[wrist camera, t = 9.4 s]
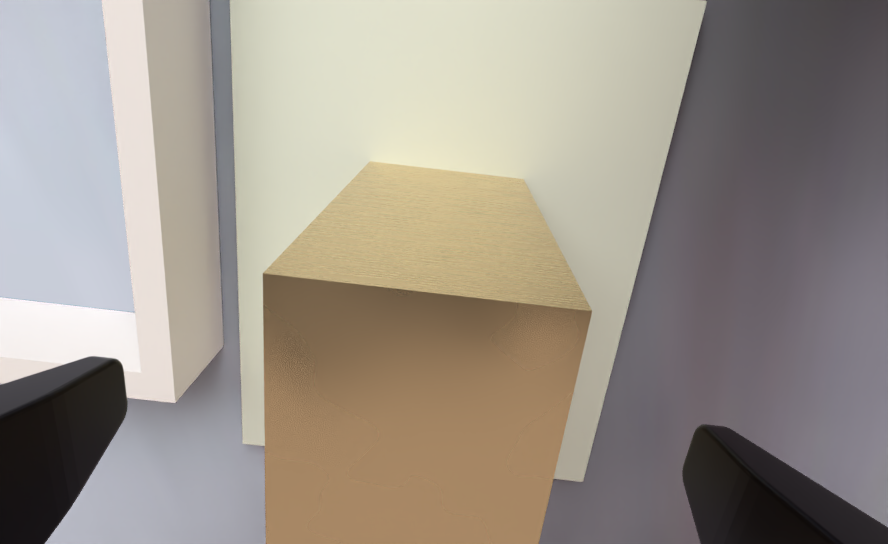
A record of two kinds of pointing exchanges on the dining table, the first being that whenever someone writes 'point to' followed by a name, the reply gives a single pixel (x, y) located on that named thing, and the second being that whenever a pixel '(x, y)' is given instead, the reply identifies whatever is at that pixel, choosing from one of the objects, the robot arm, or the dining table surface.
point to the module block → (418, 364)
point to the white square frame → (147, 215)
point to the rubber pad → (461, 135)
